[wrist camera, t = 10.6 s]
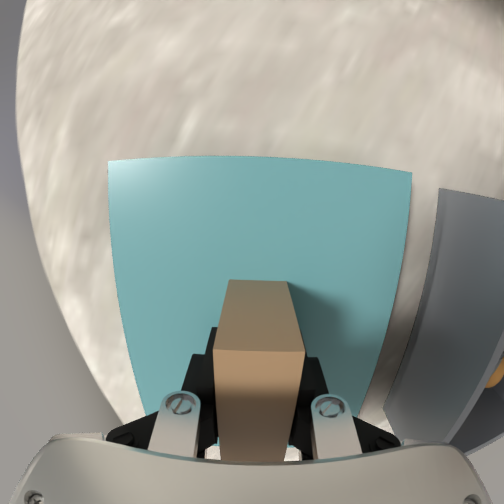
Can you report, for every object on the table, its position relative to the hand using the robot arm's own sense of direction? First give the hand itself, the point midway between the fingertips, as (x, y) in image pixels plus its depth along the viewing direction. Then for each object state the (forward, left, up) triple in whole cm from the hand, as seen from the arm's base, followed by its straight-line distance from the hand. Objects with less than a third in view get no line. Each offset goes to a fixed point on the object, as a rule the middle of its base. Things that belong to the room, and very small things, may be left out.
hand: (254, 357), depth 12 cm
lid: (0, 0, -2) cm, 2 cm away
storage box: (0, +16, -3) cm, 16 cm away
